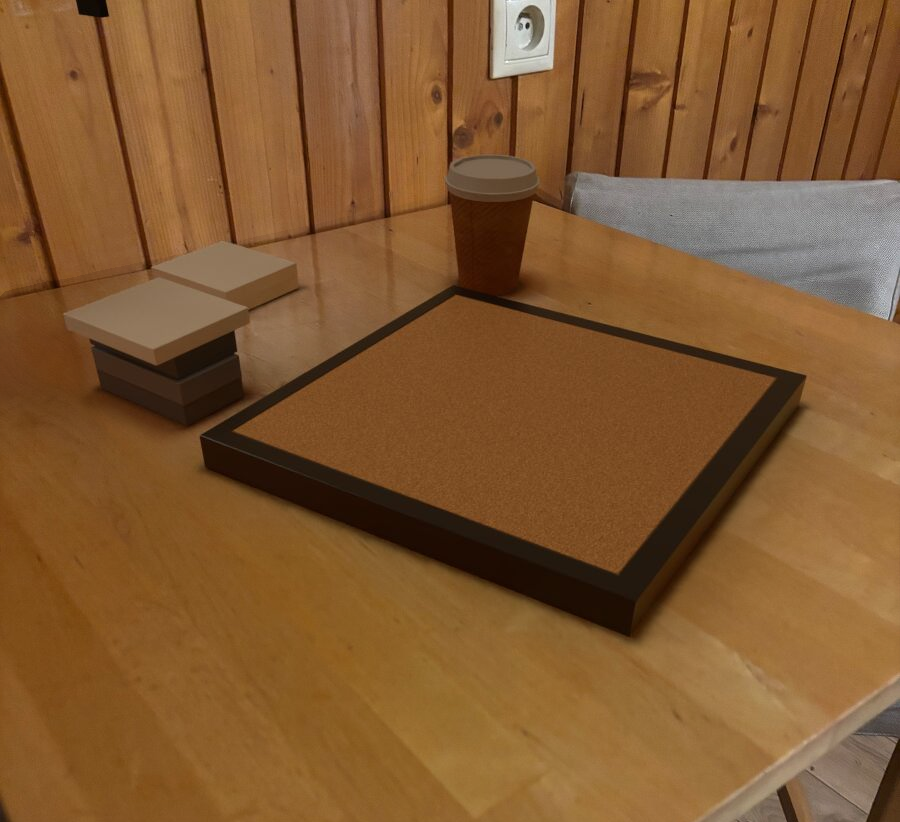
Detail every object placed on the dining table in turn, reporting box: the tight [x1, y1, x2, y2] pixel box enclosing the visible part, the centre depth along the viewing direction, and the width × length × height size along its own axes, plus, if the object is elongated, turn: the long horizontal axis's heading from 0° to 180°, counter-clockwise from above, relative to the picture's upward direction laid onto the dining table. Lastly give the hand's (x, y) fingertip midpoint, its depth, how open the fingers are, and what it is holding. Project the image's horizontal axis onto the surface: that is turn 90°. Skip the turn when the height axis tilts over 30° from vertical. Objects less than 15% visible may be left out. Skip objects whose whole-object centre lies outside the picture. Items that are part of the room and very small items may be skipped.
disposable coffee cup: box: [444, 153, 541, 296], centre depth 97 cm, size 10×10×12 cm
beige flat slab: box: [62, 277, 251, 365], centre depth 77 cm, size 11×10×1 cm
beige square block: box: [150, 240, 300, 311], centre depth 98 cm, size 11×10×3 cm
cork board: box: [199, 284, 808, 637], centre depth 75 cm, size 36×3×35 cm
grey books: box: [88, 330, 245, 427], centre depth 79 cm, size 12×7×6 cm, turn 54°
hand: (16, 27), depth 68 cm, fingers open, 13 cm apart
